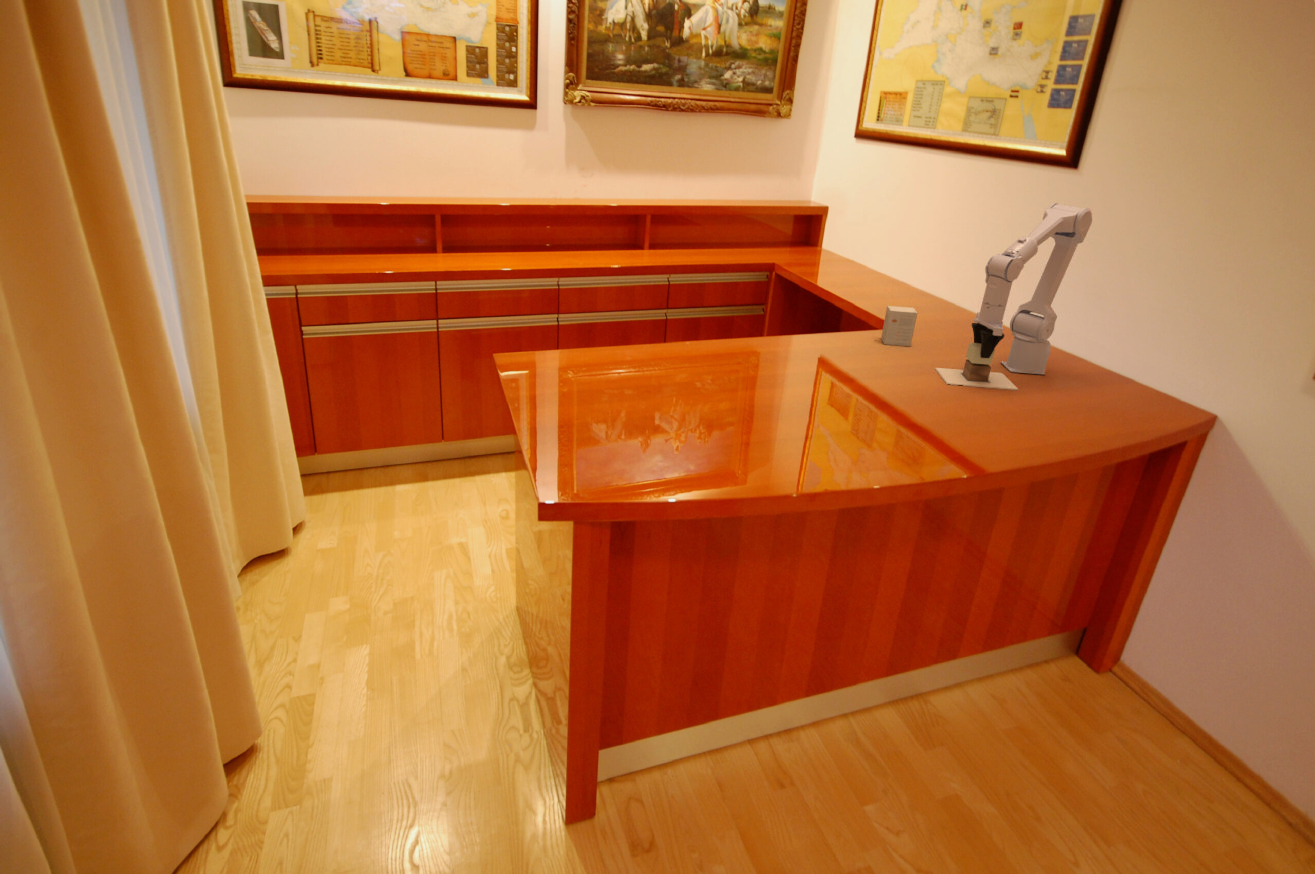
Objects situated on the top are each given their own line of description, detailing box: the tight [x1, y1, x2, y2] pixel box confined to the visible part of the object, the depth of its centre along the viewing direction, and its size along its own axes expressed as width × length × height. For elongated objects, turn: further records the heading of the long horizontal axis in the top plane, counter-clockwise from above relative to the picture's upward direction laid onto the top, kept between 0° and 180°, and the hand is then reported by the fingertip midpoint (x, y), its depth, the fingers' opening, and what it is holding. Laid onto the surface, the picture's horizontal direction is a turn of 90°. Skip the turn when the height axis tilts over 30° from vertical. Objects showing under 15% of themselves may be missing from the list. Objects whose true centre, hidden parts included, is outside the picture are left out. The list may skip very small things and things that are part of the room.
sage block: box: [965, 342, 996, 366], centre depth 195 cm, size 5×5×4 cm
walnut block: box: [962, 358, 992, 382], centre depth 197 cm, size 5×5×4 cm
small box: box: [880, 305, 918, 347], centre depth 222 cm, size 8×6×10 cm
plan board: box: [934, 367, 1019, 391], centre depth 198 cm, size 18×12×1 cm, turn 86°
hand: (981, 354), depth 195 cm, fingers closed on sage block, 5 cm apart
